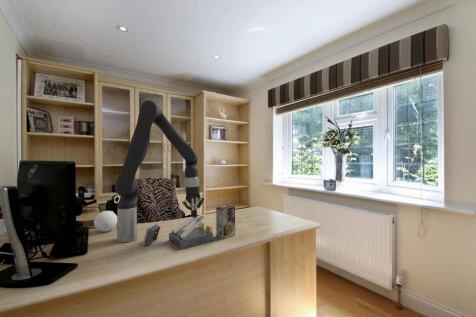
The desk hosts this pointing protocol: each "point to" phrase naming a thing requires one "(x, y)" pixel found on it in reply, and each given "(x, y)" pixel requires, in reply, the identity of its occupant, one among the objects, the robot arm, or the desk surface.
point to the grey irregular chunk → (151, 234)
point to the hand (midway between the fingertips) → (194, 216)
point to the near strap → (191, 227)
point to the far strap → (185, 224)
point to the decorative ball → (105, 221)
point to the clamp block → (192, 237)
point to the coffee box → (225, 221)
